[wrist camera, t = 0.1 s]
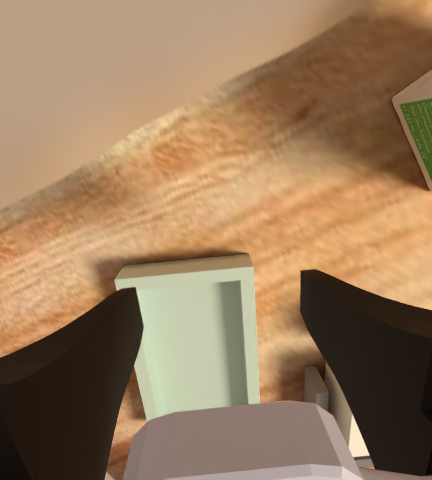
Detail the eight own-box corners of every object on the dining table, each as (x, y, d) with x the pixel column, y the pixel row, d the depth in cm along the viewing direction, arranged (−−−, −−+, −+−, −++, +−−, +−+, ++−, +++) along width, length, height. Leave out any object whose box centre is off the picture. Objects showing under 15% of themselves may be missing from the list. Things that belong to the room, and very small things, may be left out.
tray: (256, 410, 28) (261, 435, 25) (157, 420, 28) (152, 446, 25) (248, 253, 22) (253, 266, 20) (124, 265, 22) (114, 279, 20)
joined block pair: (367, 400, 28) (401, 452, 23) (323, 404, 28) (347, 457, 23) (379, 305, 24) (421, 344, 20) (328, 310, 24) (358, 350, 20)
